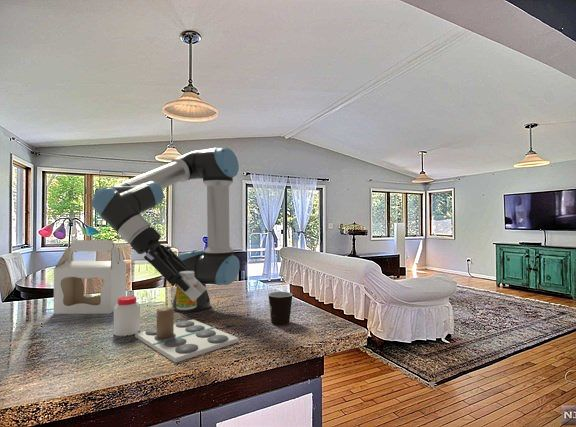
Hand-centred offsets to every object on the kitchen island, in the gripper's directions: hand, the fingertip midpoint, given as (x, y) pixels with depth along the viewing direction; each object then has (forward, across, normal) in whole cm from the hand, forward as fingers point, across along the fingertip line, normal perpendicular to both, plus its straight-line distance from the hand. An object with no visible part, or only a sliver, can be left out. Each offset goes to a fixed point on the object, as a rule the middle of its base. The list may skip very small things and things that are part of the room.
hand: (200, 295), depth 91 cm
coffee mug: (+27, -28, +4) cm, 39 cm away
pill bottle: (-8, -18, -31) cm, 37 cm away
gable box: (-27, -44, -50) cm, 73 cm away
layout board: (+6, -10, -16) cm, 20 cm away
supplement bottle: (0, 0, -5) cm, 5 cm away
